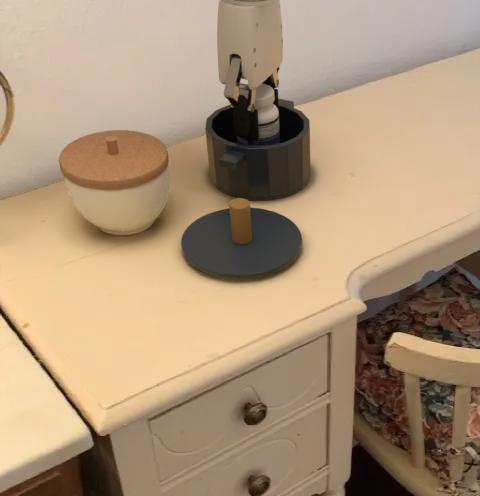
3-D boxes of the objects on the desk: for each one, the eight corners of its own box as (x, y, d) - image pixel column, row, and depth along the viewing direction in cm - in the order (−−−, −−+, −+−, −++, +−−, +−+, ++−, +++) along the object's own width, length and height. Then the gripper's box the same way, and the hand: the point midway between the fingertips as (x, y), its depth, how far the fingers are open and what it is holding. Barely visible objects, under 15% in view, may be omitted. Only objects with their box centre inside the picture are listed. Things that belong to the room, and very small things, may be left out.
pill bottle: (233, 154, 115) (228, 83, 108) (273, 148, 117) (270, 78, 110) (245, 174, 111) (240, 102, 104) (286, 167, 113) (284, 96, 106)
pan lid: (160, 266, 99) (153, 221, 95) (215, 205, 109) (210, 162, 105) (274, 294, 96) (271, 249, 92) (319, 229, 106) (319, 186, 102)
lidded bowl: (185, 197, 110) (175, 117, 103) (165, 251, 101) (152, 168, 94) (90, 191, 110) (73, 111, 102) (60, 244, 101) (39, 161, 93)
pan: (184, 198, 110) (177, 145, 105) (244, 135, 123) (241, 86, 118) (279, 219, 108) (277, 166, 102) (330, 153, 121) (331, 103, 116)
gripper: (250, -44, 105) (257, 96, 117) (186, 0, 93) (202, 150, 105) (306, -34, 103) (307, 105, 116) (248, 11, 91) (256, 162, 104)
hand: (257, 125), depth 110 cm, fingers closed on pill bottle, 5 cm apart
